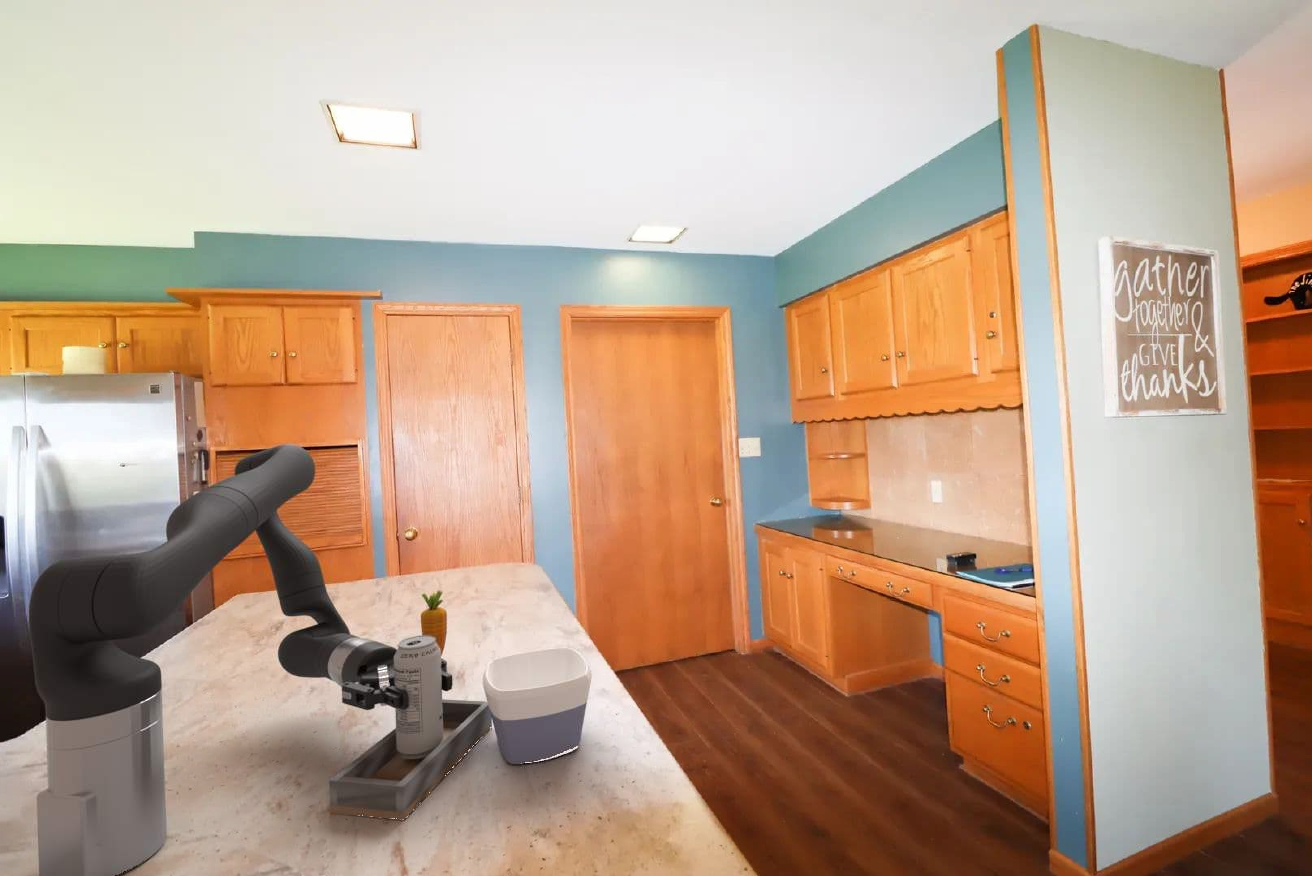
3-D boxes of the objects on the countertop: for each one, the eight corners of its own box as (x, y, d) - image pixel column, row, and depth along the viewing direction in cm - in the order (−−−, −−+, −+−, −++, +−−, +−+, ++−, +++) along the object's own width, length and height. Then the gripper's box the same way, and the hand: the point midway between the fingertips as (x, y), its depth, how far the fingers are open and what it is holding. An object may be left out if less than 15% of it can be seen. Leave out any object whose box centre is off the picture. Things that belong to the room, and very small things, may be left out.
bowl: (481, 730, 88) (479, 658, 88) (579, 709, 94) (576, 642, 94) (489, 784, 74) (486, 698, 74) (604, 756, 79) (601, 676, 80)
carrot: (416, 667, 115) (414, 592, 115) (436, 658, 119) (434, 586, 119) (434, 670, 113) (431, 594, 113) (453, 661, 117) (451, 588, 117)
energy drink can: (452, 745, 80) (449, 638, 80) (411, 766, 75) (408, 652, 75) (428, 733, 83) (425, 631, 83) (388, 752, 79) (384, 643, 79)
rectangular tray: (404, 820, 67) (403, 786, 67) (330, 813, 69) (329, 780, 69) (491, 727, 89) (491, 701, 89) (433, 723, 91) (432, 698, 91)
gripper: (314, 657, 82) (376, 683, 72) (408, 628, 93) (472, 647, 84) (316, 709, 82) (378, 743, 72) (409, 674, 93) (474, 699, 84)
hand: (428, 691), depth 78 cm, fingers closed on energy drink can, 6 cm apart
